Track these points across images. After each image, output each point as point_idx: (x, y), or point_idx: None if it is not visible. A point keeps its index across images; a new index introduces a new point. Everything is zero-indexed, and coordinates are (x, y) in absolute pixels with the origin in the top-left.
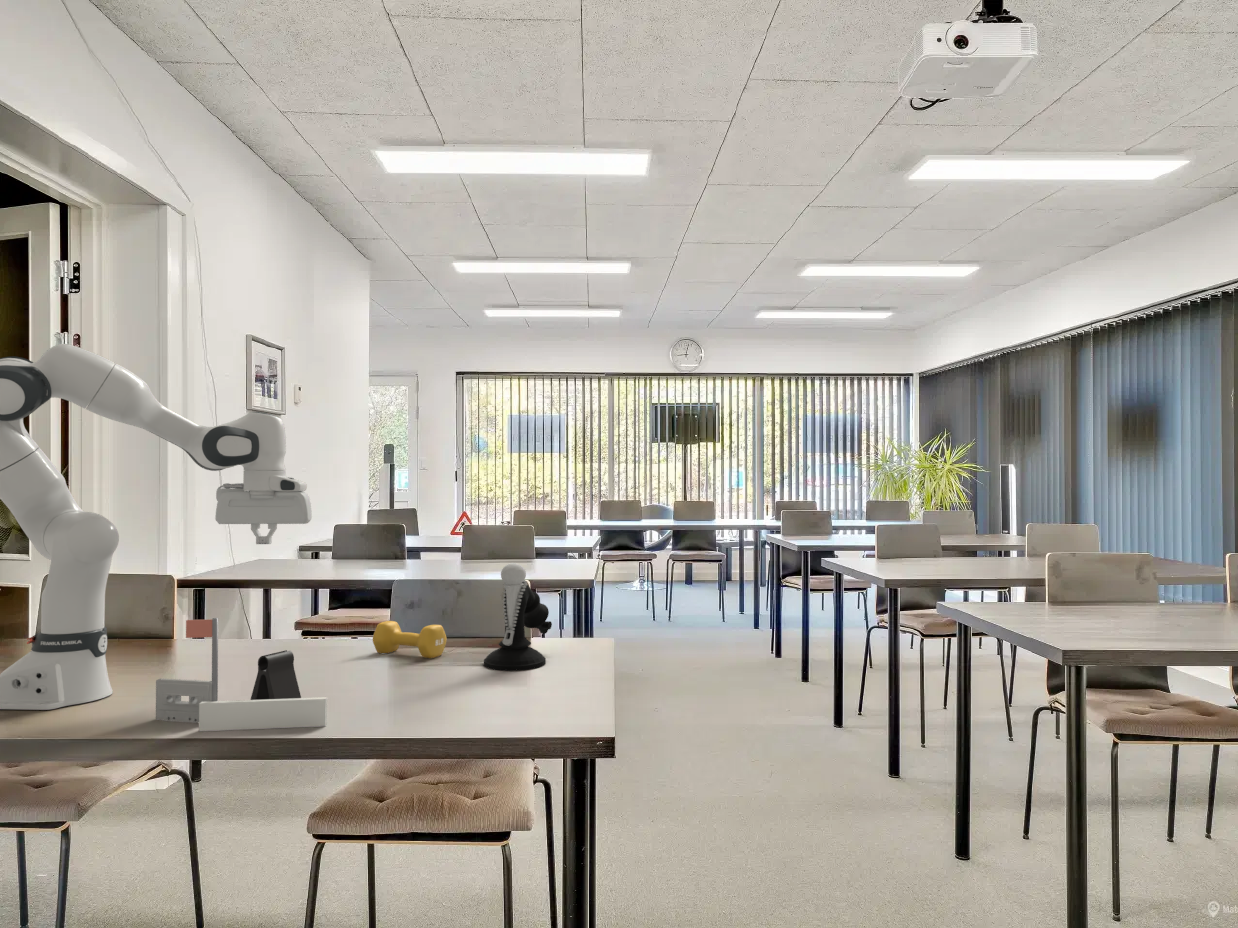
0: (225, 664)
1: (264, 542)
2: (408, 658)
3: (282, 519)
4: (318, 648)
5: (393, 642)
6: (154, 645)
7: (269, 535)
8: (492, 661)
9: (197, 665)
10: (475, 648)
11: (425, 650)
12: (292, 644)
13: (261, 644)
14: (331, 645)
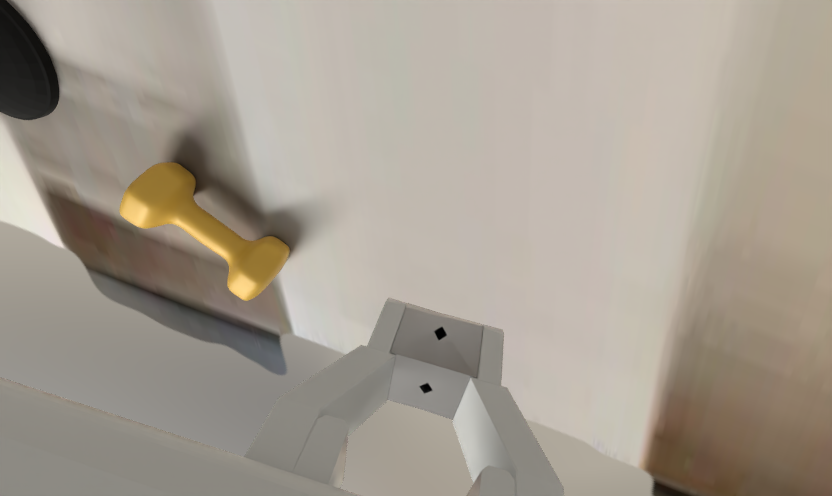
0: (573, 269)
1: (427, 314)
2: (221, 181)
3: (36, 471)
4: None
5: (246, 241)
6: (682, 451)
7: (362, 352)
8: (1, 19)
9: (630, 283)
10: None
11: (171, 164)
12: None
13: None
14: None
